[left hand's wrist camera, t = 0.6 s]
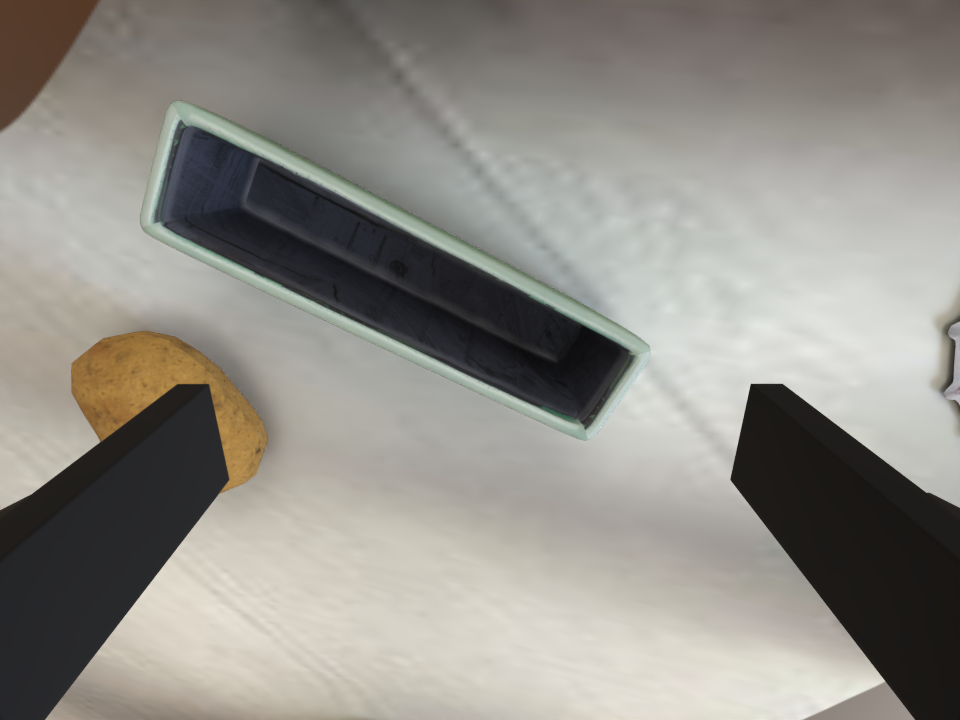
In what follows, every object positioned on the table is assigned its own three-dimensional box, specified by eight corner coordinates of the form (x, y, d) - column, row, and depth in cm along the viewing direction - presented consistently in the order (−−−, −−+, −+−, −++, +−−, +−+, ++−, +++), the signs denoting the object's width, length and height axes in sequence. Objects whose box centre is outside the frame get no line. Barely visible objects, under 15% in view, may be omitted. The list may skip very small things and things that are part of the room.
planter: (203, 214, 33) (132, 231, 26) (237, 103, 31) (167, 91, 24) (571, 394, 38) (589, 447, 31) (626, 310, 35) (659, 349, 28)
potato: (198, 481, 41) (144, 543, 34) (92, 342, 36) (7, 384, 30) (298, 441, 39) (261, 498, 33) (199, 292, 35) (135, 324, 28)
